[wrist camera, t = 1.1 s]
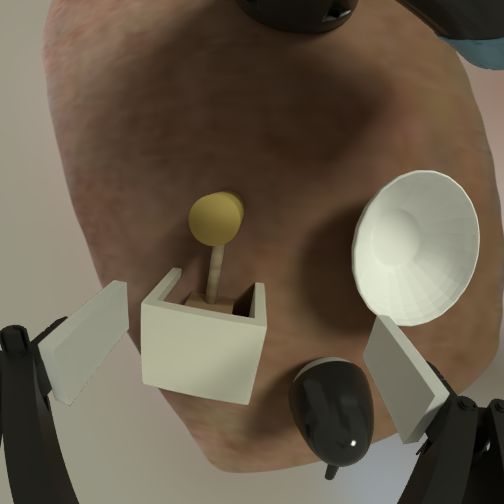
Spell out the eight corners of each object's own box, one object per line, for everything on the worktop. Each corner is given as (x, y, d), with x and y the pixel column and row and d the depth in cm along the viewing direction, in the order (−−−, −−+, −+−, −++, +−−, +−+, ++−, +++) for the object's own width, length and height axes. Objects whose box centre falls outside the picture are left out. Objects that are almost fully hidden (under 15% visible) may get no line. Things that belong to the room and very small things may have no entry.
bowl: (309, 208, 30) (324, 215, 24) (421, 150, 28) (455, 146, 22) (362, 322, 34) (382, 352, 27) (457, 263, 32) (488, 279, 25)
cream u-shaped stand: (173, 267, 32) (141, 302, 22) (264, 283, 33) (267, 327, 23) (168, 333, 34) (142, 383, 25) (250, 349, 35) (248, 404, 25)
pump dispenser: (278, 399, 37) (284, 487, 22) (296, 340, 34) (317, 432, 20) (343, 403, 37) (369, 482, 22) (369, 347, 35) (414, 426, 20)
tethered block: (206, 186, 30) (186, 189, 21) (252, 194, 30) (250, 200, 21) (188, 327, 34) (169, 371, 25) (228, 335, 34) (220, 381, 26)
